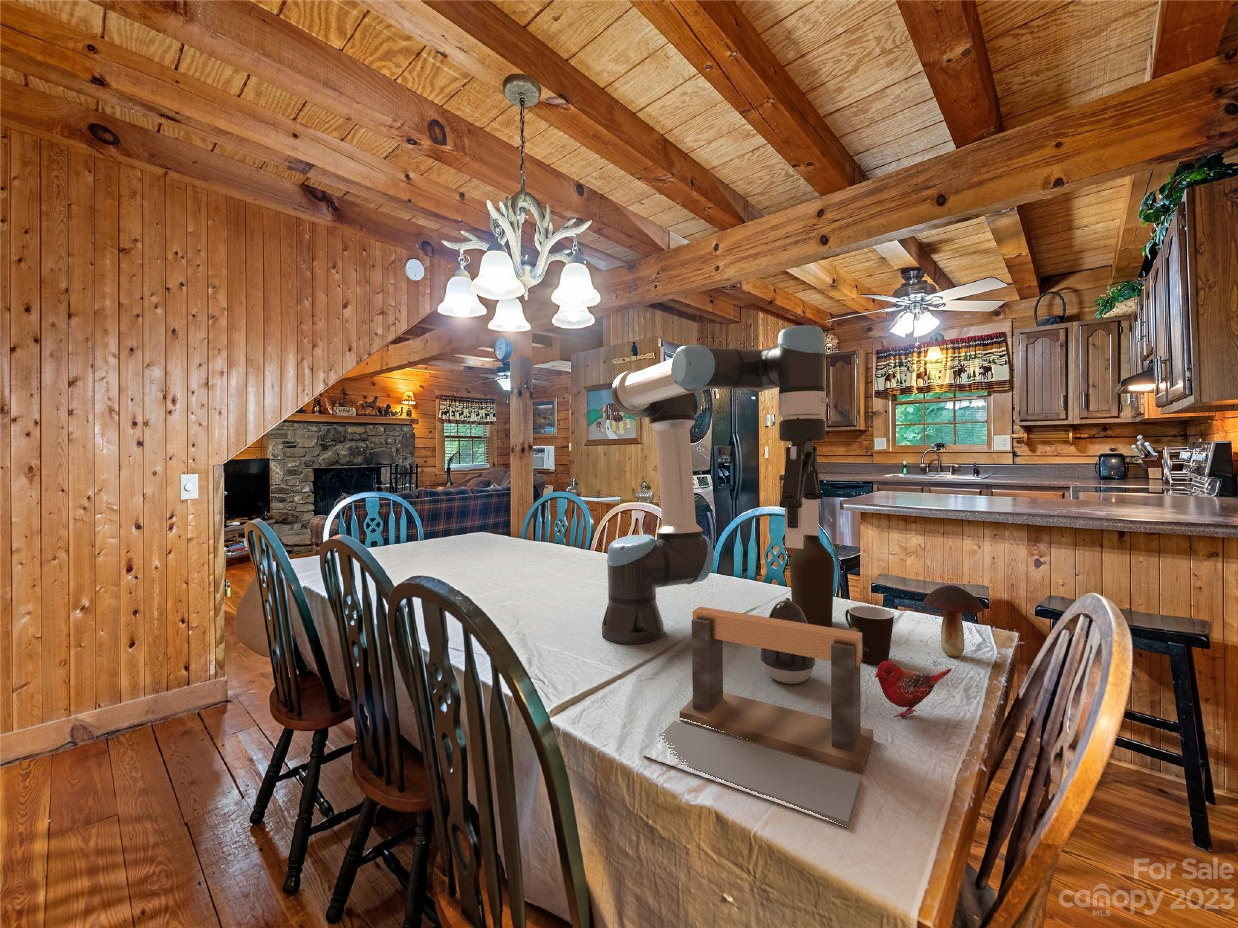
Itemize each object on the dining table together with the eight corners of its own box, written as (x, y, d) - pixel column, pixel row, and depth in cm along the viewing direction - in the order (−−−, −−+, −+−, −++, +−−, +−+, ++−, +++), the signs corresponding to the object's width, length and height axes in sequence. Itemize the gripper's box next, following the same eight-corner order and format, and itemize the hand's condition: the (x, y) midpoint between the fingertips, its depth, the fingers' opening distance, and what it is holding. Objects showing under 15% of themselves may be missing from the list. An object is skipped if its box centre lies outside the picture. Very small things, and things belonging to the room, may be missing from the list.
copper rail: (692, 634, 90) (692, 611, 89) (700, 629, 92) (699, 606, 92) (859, 666, 75) (859, 638, 75) (862, 659, 78) (862, 632, 78)
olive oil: (805, 632, 126) (804, 529, 126) (782, 619, 137) (781, 523, 136) (844, 628, 129) (843, 527, 128) (818, 615, 139) (817, 521, 138)
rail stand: (679, 719, 88) (678, 621, 87) (704, 695, 96) (702, 605, 95) (863, 774, 72) (862, 655, 72) (873, 739, 81) (873, 633, 80)
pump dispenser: (815, 669, 106) (814, 595, 105) (816, 693, 96) (815, 610, 95) (762, 663, 109) (761, 591, 109) (758, 685, 99) (757, 606, 99)
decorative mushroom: (912, 647, 116) (911, 580, 116) (958, 644, 117) (958, 578, 117) (946, 667, 106) (947, 593, 105) (998, 664, 106) (998, 591, 106)
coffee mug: (900, 669, 105) (900, 619, 105) (854, 666, 107) (853, 617, 107) (883, 647, 117) (883, 602, 117) (841, 644, 119) (841, 601, 118)
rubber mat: (643, 756, 78) (643, 751, 77) (674, 725, 86) (674, 720, 86) (847, 828, 62) (847, 821, 62) (861, 782, 71) (861, 776, 71)
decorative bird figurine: (867, 720, 86) (867, 660, 86) (944, 699, 93) (944, 643, 92) (882, 728, 84) (882, 666, 83) (960, 707, 90) (960, 649, 90)
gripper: (810, 414, 78) (811, 556, 79) (836, 419, 100) (837, 531, 100) (759, 416, 82) (761, 552, 83) (795, 421, 103) (796, 529, 104)
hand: (803, 541), depth 91 cm, fingers open, 13 cm apart
